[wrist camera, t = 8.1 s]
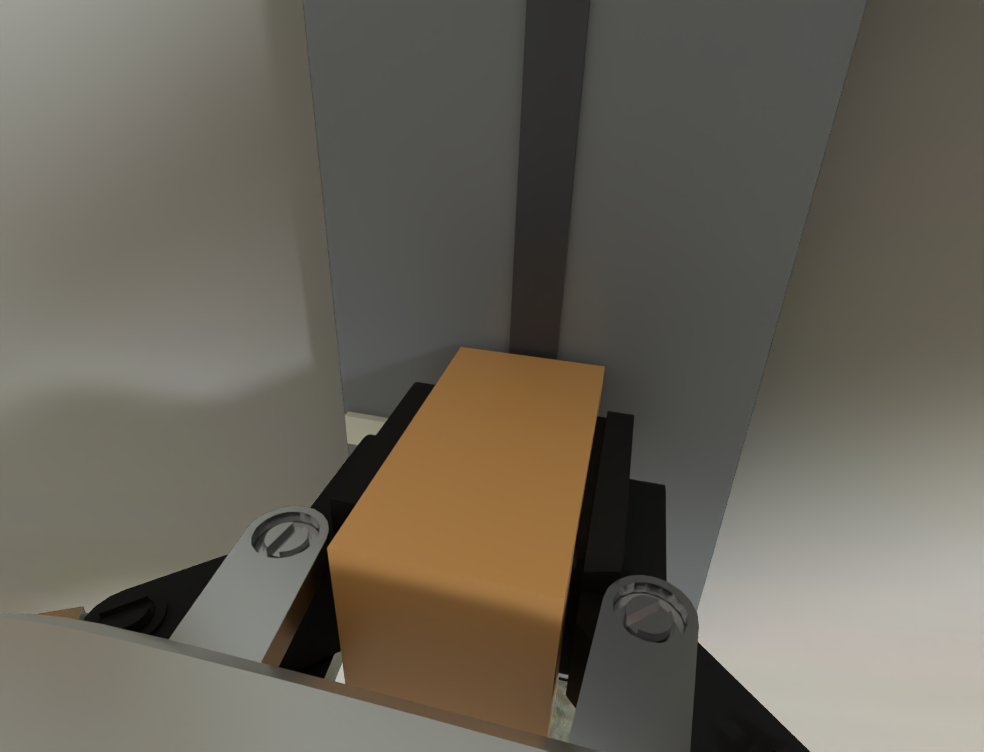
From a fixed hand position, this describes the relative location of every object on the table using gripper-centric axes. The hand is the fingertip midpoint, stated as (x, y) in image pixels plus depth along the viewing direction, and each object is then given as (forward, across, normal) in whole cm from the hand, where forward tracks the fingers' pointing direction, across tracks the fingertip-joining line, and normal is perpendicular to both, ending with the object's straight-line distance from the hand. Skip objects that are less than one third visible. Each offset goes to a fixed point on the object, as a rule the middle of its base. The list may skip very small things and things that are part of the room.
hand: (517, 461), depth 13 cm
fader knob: (+1, 0, 0) cm, 1 cm away
